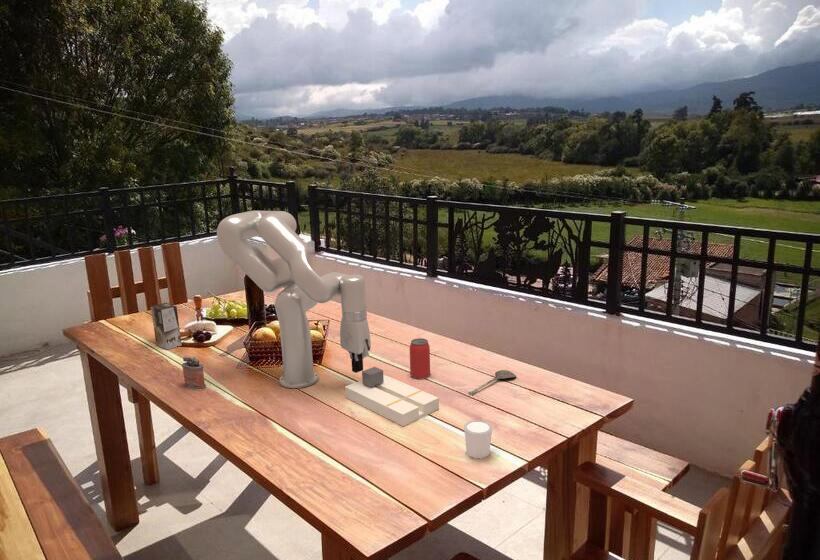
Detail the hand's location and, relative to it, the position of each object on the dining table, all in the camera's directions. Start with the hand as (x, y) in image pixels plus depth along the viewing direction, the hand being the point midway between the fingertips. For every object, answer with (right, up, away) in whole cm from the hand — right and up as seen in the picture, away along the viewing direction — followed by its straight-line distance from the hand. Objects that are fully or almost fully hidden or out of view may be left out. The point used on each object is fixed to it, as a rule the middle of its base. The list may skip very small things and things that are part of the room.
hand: (357, 370), depth 177 cm
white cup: (+33, -14, -37) cm, 52 cm away
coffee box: (-78, +3, +44) cm, 90 cm away
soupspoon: (+42, -5, +2) cm, 43 cm away
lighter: (-53, -6, +6) cm, 54 cm away
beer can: (+20, -3, +9) cm, 22 cm away
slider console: (+11, -8, -10) cm, 17 cm away
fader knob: (+5, -5, -4) cm, 9 cm away
